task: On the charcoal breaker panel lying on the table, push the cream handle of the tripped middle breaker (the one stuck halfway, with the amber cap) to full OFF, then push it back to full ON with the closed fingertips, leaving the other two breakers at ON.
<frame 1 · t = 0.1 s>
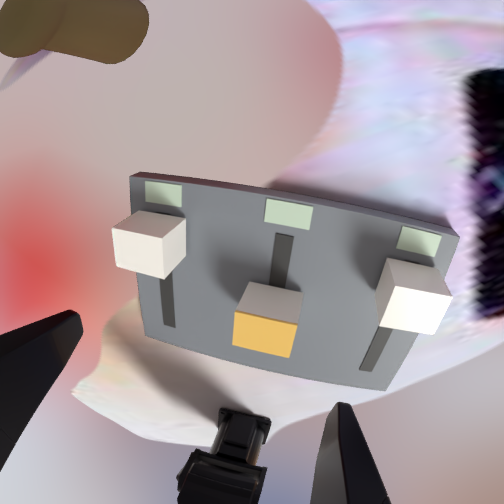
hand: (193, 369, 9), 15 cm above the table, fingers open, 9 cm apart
breaker tripped: (268, 318, 21), point 4 cm above the table, slide at 0.0 cm
cork: (119, 30, 18), on the table
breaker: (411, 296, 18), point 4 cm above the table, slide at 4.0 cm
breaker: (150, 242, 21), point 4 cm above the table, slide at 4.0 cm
panel: (277, 290, 24), on the table
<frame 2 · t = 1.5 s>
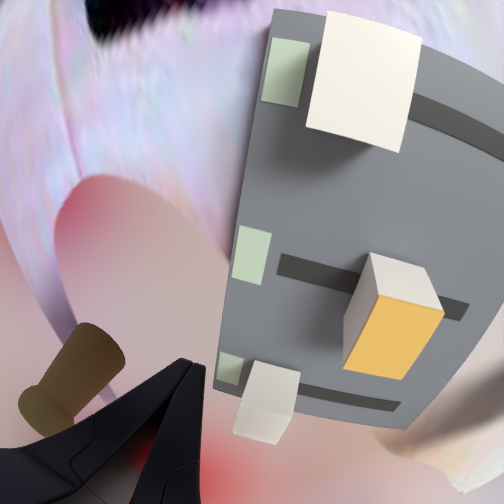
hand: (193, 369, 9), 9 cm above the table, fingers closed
breaker tripped: (387, 316, 13), point 4 cm above the table, slide at 0.0 cm
cork: (100, 346, 26), on the table
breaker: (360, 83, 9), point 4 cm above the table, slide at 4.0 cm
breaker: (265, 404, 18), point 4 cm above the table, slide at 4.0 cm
panel: (379, 276, 16), on the table
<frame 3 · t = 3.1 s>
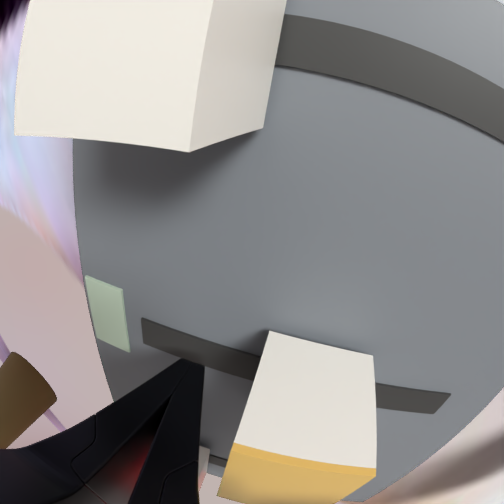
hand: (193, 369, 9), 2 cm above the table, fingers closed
breaker tripped: (294, 435, 7), point 4 cm above the table, slide at -0.1 cm, touching gripper
cork: (33, 376, 20), on the table
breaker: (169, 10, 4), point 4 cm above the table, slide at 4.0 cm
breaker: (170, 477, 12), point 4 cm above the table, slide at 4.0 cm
panel: (306, 348, 10), on the table
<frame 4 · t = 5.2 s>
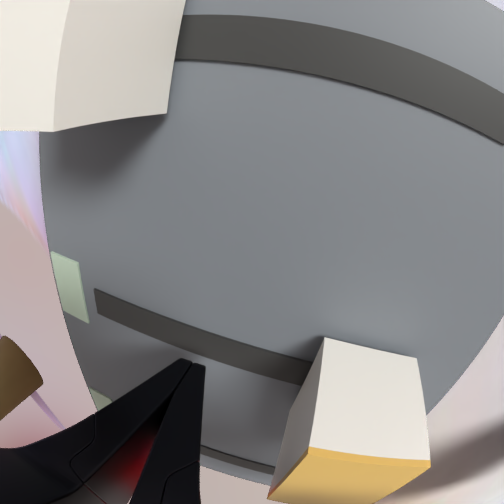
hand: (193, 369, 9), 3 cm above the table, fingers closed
breaker tripped: (344, 436, 7), point 4 cm above the table, slide at -4.1 cm
cork: (22, 360, 21), on the table
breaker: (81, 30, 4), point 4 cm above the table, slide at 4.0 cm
panel: (243, 324, 11), on the table
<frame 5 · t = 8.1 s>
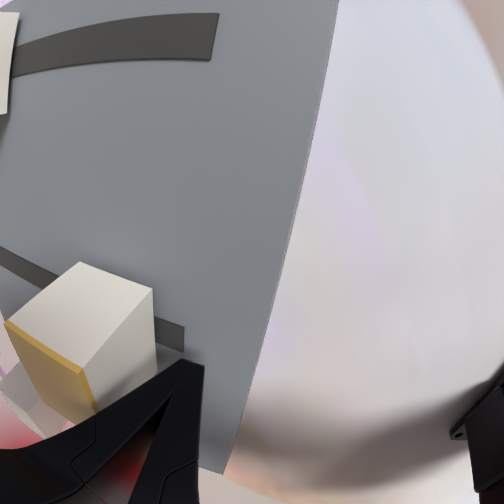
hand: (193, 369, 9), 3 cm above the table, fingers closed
breaker tripped: (89, 353, 8), point 4 cm above the table, slide at -3.0 cm, touching gripper
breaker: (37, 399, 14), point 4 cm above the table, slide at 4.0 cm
panel: (86, 271, 12), on the table
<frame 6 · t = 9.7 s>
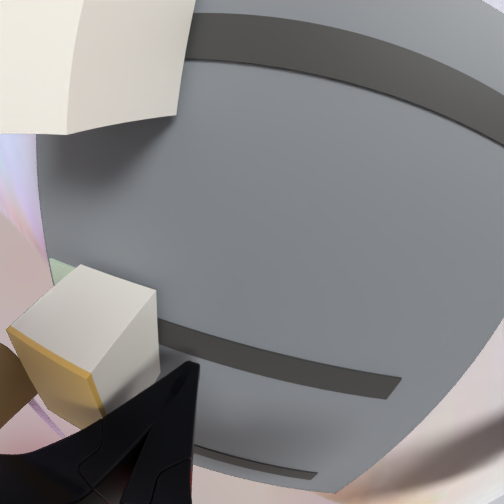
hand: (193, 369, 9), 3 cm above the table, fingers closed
breaker tripped: (93, 357, 8), point 4 cm above the table, slide at 4.3 cm, touching gripper
cork: (19, 367, 21), on the table
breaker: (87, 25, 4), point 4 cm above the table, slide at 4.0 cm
panel: (250, 327, 11), on the table
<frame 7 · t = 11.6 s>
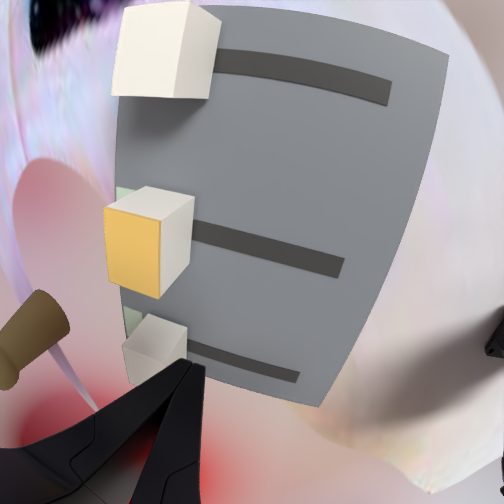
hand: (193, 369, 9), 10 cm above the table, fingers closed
breaker tripped: (150, 238, 15), point 4 cm above the table, slide at 4.1 cm
cork: (51, 312, 28), on the table
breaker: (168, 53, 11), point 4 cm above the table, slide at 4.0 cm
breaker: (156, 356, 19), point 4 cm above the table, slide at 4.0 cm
panel: (246, 230, 17), on the table
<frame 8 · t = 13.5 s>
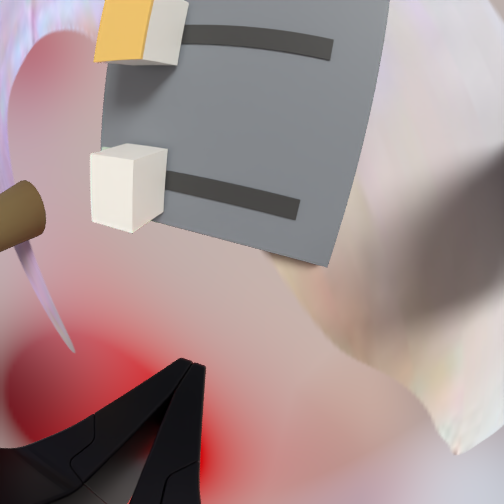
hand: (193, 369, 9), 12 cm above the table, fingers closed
breaker tripped: (142, 28, 12), point 4 cm above the table, slide at 4.1 cm
cork: (30, 208, 25), on the table
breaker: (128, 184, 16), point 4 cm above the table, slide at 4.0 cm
panel: (236, 40, 14), on the table
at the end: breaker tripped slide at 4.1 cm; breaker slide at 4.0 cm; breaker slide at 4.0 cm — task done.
